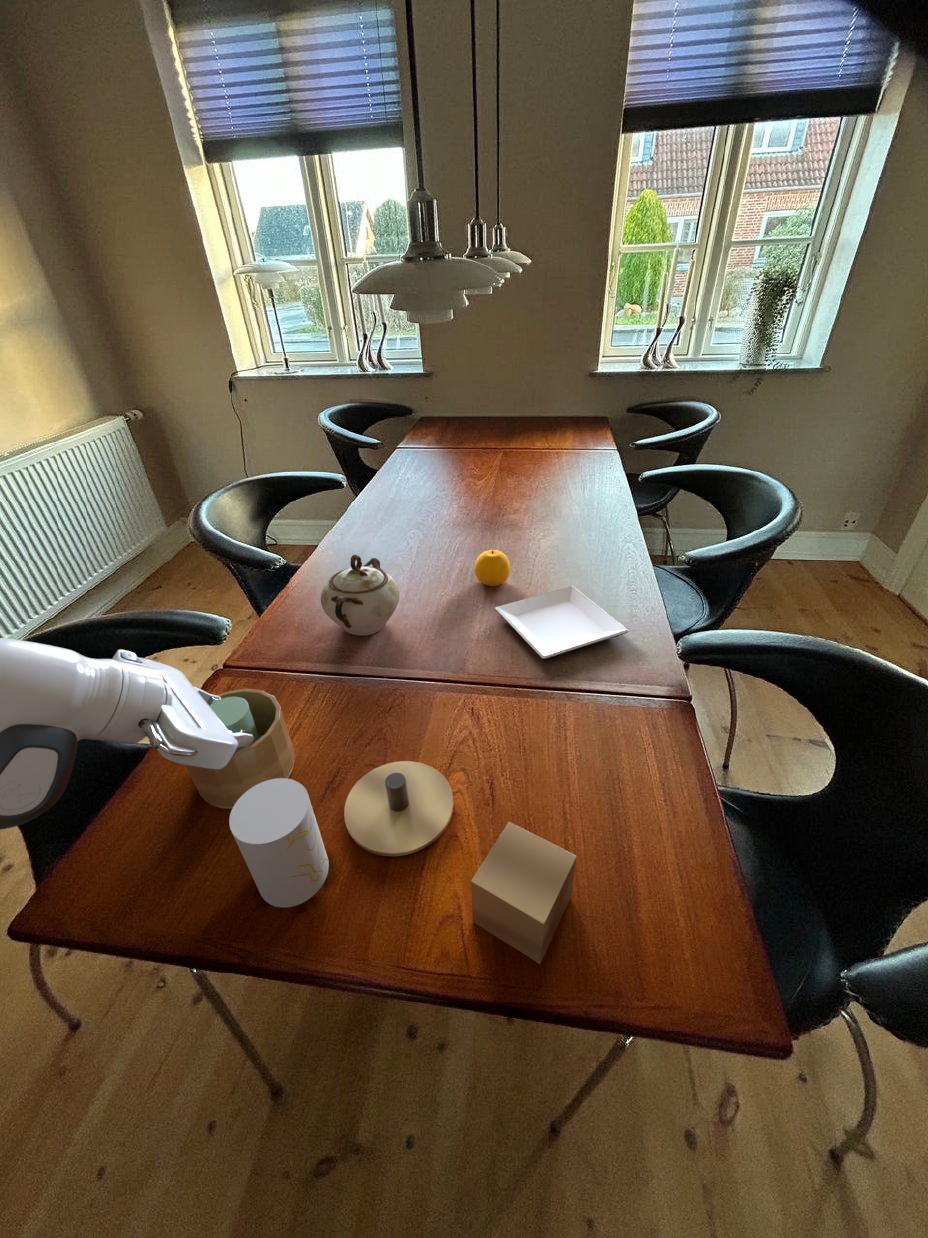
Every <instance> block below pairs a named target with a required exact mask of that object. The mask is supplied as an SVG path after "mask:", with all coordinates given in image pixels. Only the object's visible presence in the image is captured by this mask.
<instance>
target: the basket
mask: <svg viewBox="0 0 928 1238" xmlns="http://www.w3.org/2000/svg"><path fill="white" fill-rule="evenodd" d="M217 696H219V697H220V698H221V699H223V698H227V697H240V698H243V699H245V700H246V701H247V703H248V705H249V708H250V711H251V713H252V716H253V719H254V722H255V725H256V727H257V730H258V733H259V736H260V739H258V740H257V741H256V742H255V743H253V744H252V745H250V746H248V747H246V748H244V749H242V750H239V751H237V752H235V753H234V754H233V756H232V758H231V760H230V761H229V763H228V764H227V766H225V767H224V768H222V769H219V770H216V769H207V768H201V767H195V766H189V765H185V767H186V769H187V771H188V774H189V775H190V778H191V779H192V782H193V784H194V785H195V788H196V790H197V792H198V794H199V796H200V797H201V798H202V799H203V800H204V801H205V802H206V803H208V804H210V805H211V806H214V807H215V808H220V809H227V810H228V809H233V807H234V805H235V803H236V802H237V801H238V799H239V798H240V797H241V796H242V795H243V794H244V793H245V792H246V791H248V790H249V789H251V788H252V787H254V786H255V785H257V784H259V783H262V782H264V781H267V780H271V779H277V778H286V779H289V777H290V776H291V774H292V772H293V769H294V766H295V761H296V759H295V758H296V757H295V749H294V746H293V743H292V739H291V736H290V733H289V729H288V727H287V723H286V720H285V716H284V712H283V710H282V706H281V705H280V704H279V702H278V699H277V698H276V697H275V696H274V695H273V694H270V693H268V692H266V691H264V690H263V689H253V688H241V689H235V690H229V691H225V692H222V693H219V694H217Z"/></svg>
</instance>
